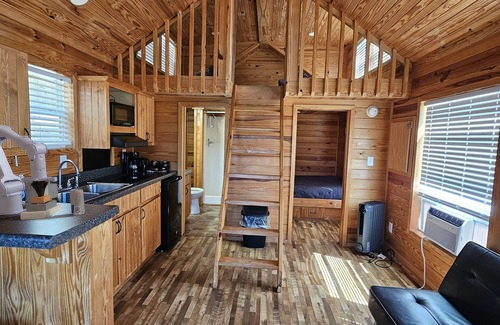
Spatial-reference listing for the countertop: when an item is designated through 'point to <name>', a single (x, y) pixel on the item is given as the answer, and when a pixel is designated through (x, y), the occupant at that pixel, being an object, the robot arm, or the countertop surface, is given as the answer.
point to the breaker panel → (41, 210)
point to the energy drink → (77, 202)
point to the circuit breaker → (31, 193)
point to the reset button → (41, 199)
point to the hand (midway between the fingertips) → (41, 196)
